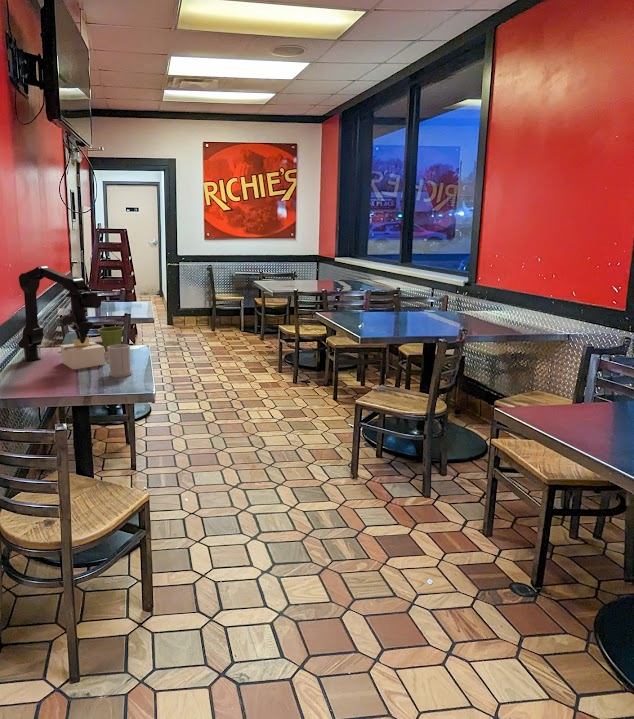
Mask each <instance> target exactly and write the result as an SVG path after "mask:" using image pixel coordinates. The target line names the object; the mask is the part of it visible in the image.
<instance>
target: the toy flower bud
mask: <svg viewBox="0 0 634 719" xmlns="http://www.w3.org/2000/svg"><path fill="white" fill-rule="evenodd" d="M73 339H77V335H76V333H75V330H73V331H69V332H67V333H66V334H65V335H64V339H63V343H64V344H63V345H67V344H74V341H73Z"/></svg>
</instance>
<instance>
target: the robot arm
mask: <svg viewBox="0 0 634 719" xmlns="http://www.w3.org/2000/svg"><path fill="white" fill-rule="evenodd" d="M44 278H45V279H48V280H50V281H52V282H55V283H57V284H58V285H61V286H62V287H63V289H65V290H66V291H68V293H67V294H66V295H65V297H66V298H70V307H71V309H70V310H69V313H68V314H65V315H63V316H61V317H59V318H58V319H57V320H58V322H59V324H60V326H62V327H66V326H69V327H70V328H71V329H72V330H73V331H75V333H76V335H77V338H80V340H81V343H84V342H85V339H86V337H88V334H89V332H90V330H92V329H94V323H93V322H91V321H89V320H88V318H87V313H88V310H87V309H100V307H101V305H102V299H101V297H100V296H99V294H98V292H97V291H95V292H92V290H91V289H90V288H89V286H88V284H86V280H84V279H83V277H77V276H70V275H66V274H64V273H62V272H59V271H58V270H54V269H52V268H50V267H48V266H47V265H41V266H40V265H39V266H37V267H35V268H33V269H31V270H28V271H27V272H22V273H20V275H19V276H18V283H19V286H20V287H19V288H20V289H21V290H22V292H23V294H24V295H23V296H24V297H23V298H24V311H25V325H24V327H23V330H22V337H21V339H20V340H19V342H17V344H18V347H19V349H23V353H24V357H22V360H23V361H25V362H33V361H40V360H42V359H41V357H40V356H39V352H38V351H39V350H38V346H41V345H42V341H43V339H44V337H45V334H44V327H41V326H40V325H39V318H38V316H39V315H38V302H37V300H38V298H37V292H38V290H39V287H40V283H41V282H40V281H41V280H43V279H44Z"/></svg>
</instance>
